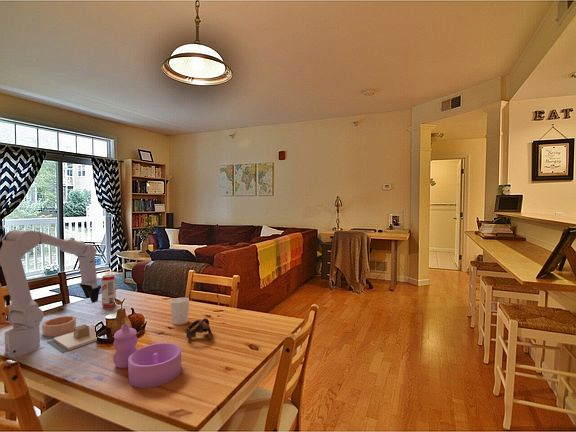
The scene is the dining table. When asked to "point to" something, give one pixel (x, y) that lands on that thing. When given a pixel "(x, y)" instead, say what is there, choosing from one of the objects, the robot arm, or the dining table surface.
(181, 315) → the white cup
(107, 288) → the beer can
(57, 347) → the mat
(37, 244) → the robot arm
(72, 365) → the dining table surface
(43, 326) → the bowl
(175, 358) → the container set
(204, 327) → the dark brown arched piece
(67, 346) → the lid
